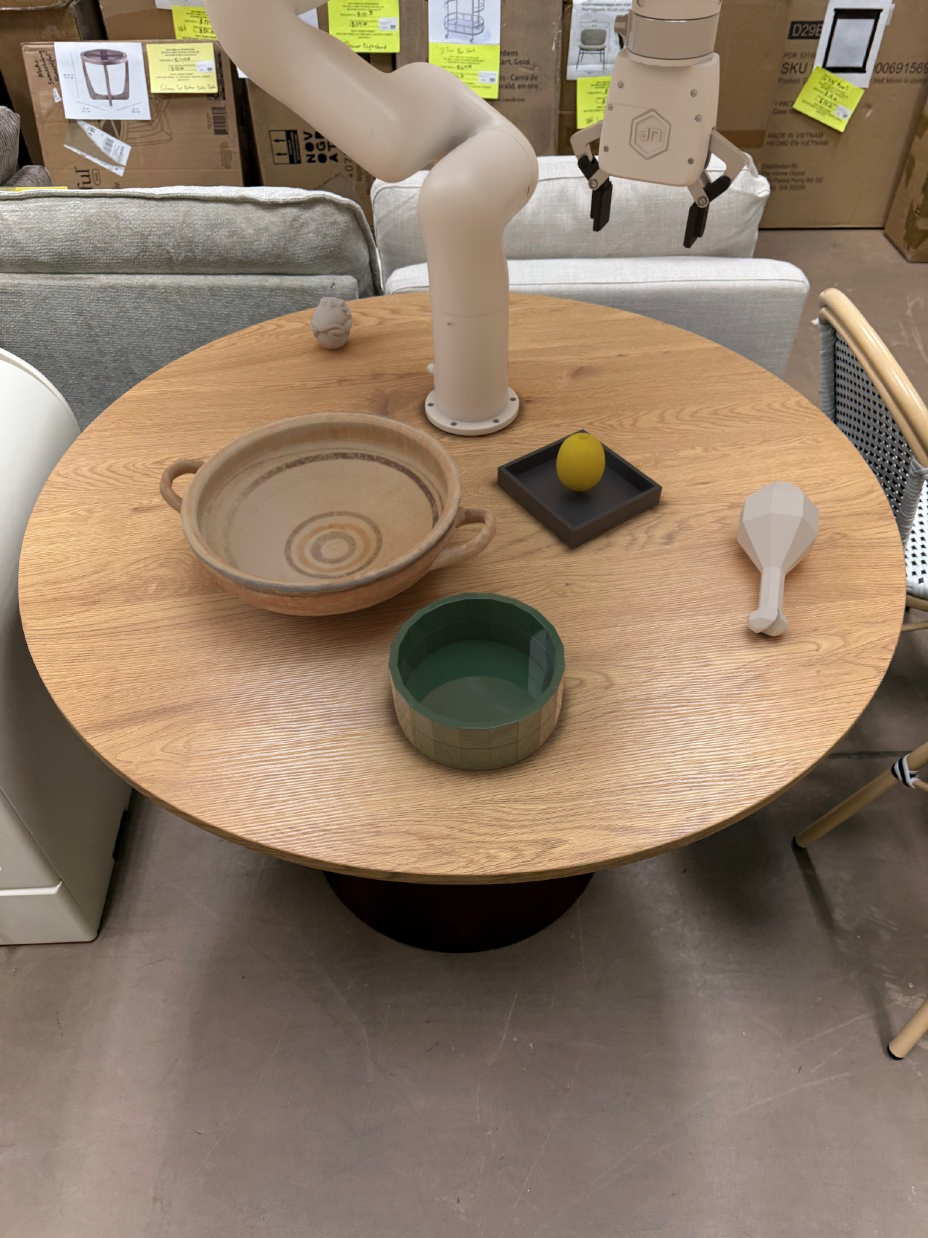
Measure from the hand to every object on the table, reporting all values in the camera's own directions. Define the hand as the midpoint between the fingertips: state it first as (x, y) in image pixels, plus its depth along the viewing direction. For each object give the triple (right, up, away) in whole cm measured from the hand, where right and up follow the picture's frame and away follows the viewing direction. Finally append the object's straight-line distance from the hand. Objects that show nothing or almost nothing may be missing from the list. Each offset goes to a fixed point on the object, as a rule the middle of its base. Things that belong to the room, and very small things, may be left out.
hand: (644, 234), depth 84 cm
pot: (-17, -47, -7) cm, 51 cm away
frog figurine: (-38, +1, +38) cm, 54 cm away
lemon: (-5, -25, +13) cm, 28 cm away
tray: (-5, -25, +13) cm, 29 cm away
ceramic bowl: (-33, -33, +7) cm, 47 cm away
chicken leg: (+14, -36, +3) cm, 38 cm away
